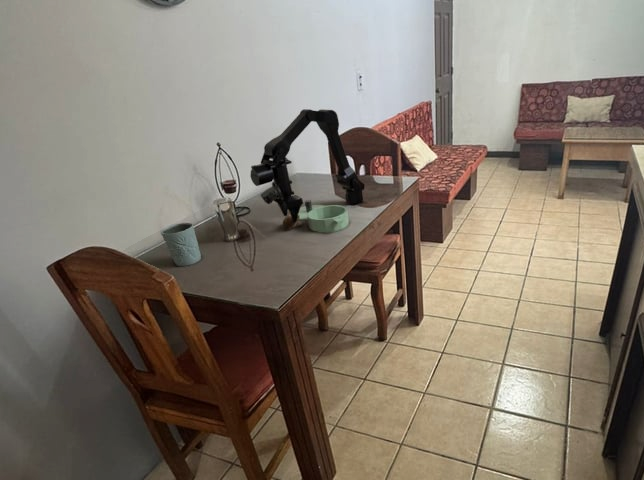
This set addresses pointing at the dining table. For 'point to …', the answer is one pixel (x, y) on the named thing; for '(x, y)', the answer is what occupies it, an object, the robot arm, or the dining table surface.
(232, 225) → the beer glass
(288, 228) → the mushroom
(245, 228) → the dining table surface
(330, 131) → the robot arm
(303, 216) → the lid
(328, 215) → the pot
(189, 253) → the embossed blue planter
